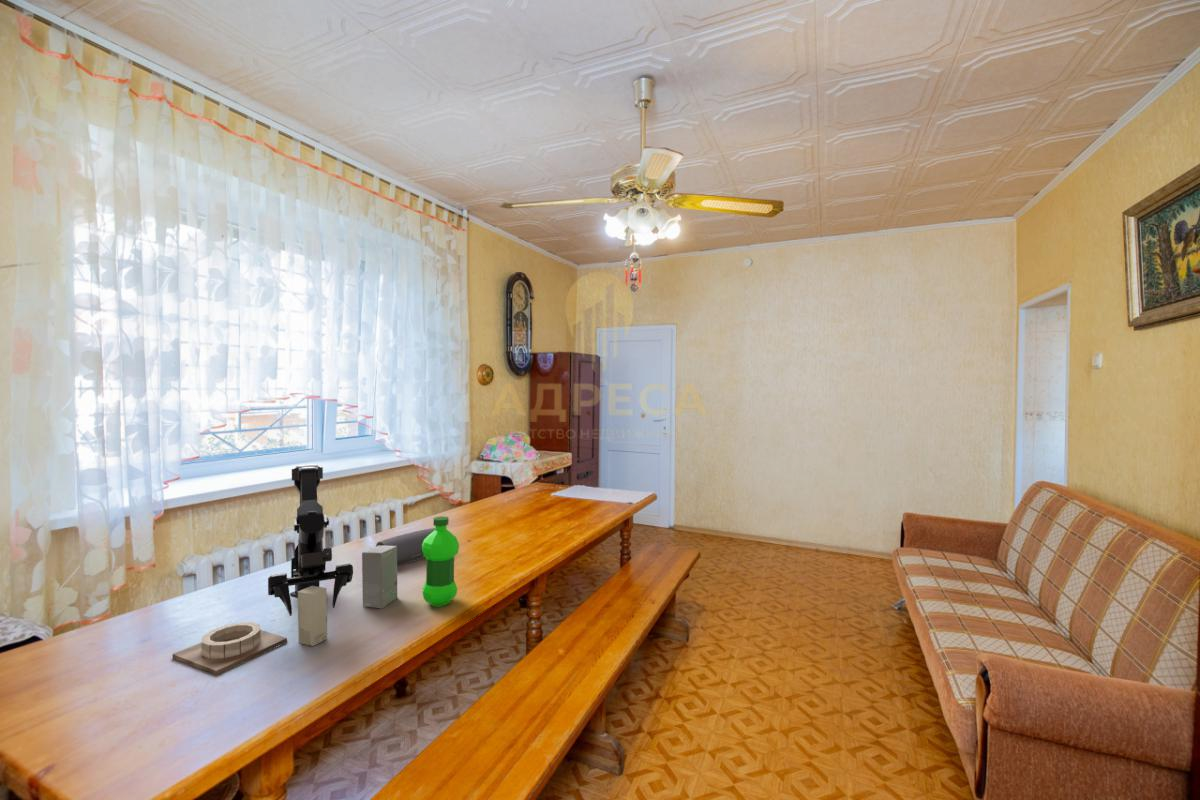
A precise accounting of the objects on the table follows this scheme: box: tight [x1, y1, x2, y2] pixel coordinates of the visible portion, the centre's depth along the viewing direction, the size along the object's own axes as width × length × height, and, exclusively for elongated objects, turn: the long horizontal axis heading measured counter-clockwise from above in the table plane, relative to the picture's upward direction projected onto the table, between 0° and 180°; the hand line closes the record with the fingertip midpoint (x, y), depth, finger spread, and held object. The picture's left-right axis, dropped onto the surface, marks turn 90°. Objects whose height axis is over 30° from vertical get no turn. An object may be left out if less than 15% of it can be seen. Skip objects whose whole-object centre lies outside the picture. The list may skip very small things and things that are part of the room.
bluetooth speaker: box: [375, 527, 435, 566], centre depth 185 cm, size 23×9×10 cm, turn 144°
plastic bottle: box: [422, 516, 460, 607], centre depth 149 cm, size 10×10×25 cm
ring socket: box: [172, 621, 288, 676], centre depth 121 cm, size 16×16×4 cm
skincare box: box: [361, 545, 398, 609], centre depth 149 cm, size 8×7×16 cm
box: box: [297, 586, 328, 647], centre depth 126 cm, size 5×4×13 cm
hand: (312, 611), depth 125 cm, fingers open, 9 cm apart
